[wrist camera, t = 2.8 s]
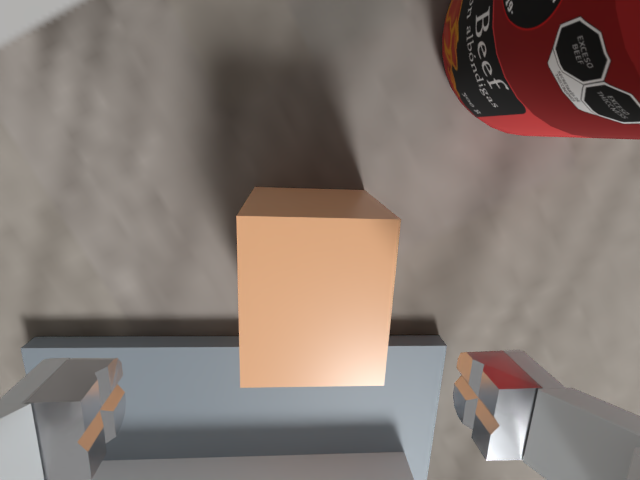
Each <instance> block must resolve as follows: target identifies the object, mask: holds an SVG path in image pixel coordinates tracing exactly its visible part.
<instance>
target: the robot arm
mask: <svg viewBox="0 0 640 480" xmlns="http://www.w3.org/2000/svg"><path fill="white" fill-rule="evenodd" d="M457 369H458V371H459V372H460V374H461V376H460V377H459V379H458V380H457V381H456V382H455V383H454V391H453V399H454V406H455V409H456V412H457V415H458V417H459V418H460V420H461V422H462V423H463V424H464V425H466V426H467V427H469V428H471V429H472V430H473V432H472V439H473V441H474V442H475V444H476V445H477V447H478V448H479V450H480V451H481V453H482V455H483V456H484V458H485V459H486V460H523V462H524V463H525V464H527V465H528V466H529V467H531V468H532V469H533V470H535V471H536V472H537V473H539V474H540V475H541V476H543V477H544V478H545V479H547V480H640V416H638V415H636V414H634V413H631V412H629V411H626V410H624V409H622V408H619V407H617V406H614V405H612V404H610V403H607V402H605V401H602V400H600V399H598V398H595V397H593V396H591V395H588V394H586V393H583V392H581V391H579V390H576V389H574V388H565V387H564V386H563V385H562V384H561V383H560V382H559V381H557V380H556V379H555V378H554V377H553V376H552V375H550V374H549V373H548V372H547V371H546V370H545V369H544V368H542V367H541V366H540V365H539V364H538V363H537V362H535V361H534V360H533V359H532V358H531V357H530V356H529V355H527V354H526V353H525V352H524V351H521V350H505V351H485V352H464V353H461V354H460V356H459V358H458V362H457ZM122 376H123V370H122V363H121V361H120V360H119V359H118V358H49V359H44V360H42V361H41V362H40V363H39V364H38V365H37V366H36V367H35V368H33V369H32V370H31V371H30V372H29V373H28V374H27V375H26V376H25V377H24V378H22V379H21V380H20V381H19V382H18V383H17V384H16V385H15V386H14V387H13V388H11V389H10V390H9V391H8V392H7V393H6V394H5V395H4V396H3V397H1V398H0V480H92V478H93V476H94V474H95V473H96V471H97V469H98V467H99V466H100V464H101V462H102V460H103V459H104V457H105V455H106V453H107V451H106V443H107V442H109V441H110V440H112V439H113V438H115V437H116V436H117V434H118V432H119V430H120V428H121V426H122V422H123V419H124V415H125V408H126V397H125V392H124V391H123V390H122V388H121V387H120V386H119V385H118V382H119V381H120V379H121V378H122Z"/></svg>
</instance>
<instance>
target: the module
mask: <svg viewBox="0 0 640 480" xmlns="http://www.w3.org/2000/svg"><path fill="white" fill-rule="evenodd" d="M236 221H237V266H238V311H239V357H240V388H261V387H328V386H384V382H385V372H386V362H387V352H388V342H389V332H390V322H391V312H392V302H393V292H394V282H395V272H396V263H397V253H398V243H399V233H400V223H401V219H400V218H398V217H397V216H396V215H395V214H393V213H392V212H391V211H390V210H388V209H387V208H386V207H385V206H384V205H382V204H381V203H380V202H379V201H377V200H376V199H375V198H374V197H372V196H371V195H370V194H369V193H368V192H366V191H365V190H346V189H310V188H275V187H254V189H253V190H252V192H251V194H250V195H249V197H248V198H247V200H246V201H245V203H244V205H243V206H242V208H241V209H240V211H239V213H238V214H237V216H236Z"/></svg>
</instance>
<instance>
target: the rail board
mask: <svg viewBox="0 0 640 480" xmlns="http://www.w3.org/2000/svg"><path fill="white" fill-rule="evenodd" d="M446 347H447V345H446V344H445V343H444V341H443V340H442V339H441V337H440V336H439V335H404V336H389V342H388V352H387V362H386V372H385V382H384V386H328V387H261V388H240V357H239V336H114V337H34V338H33V339H32V340H30V341H29V342H28V343H27V344H25V345H24V346H23V347H22V348H21V352H22V357H23V362H24V367H25V372H26V375H27V374H28V373H29V372H30V371H31V370H32V369H33V368H35V367H36V366H37V365H38V364H39V363H40V362H41V361H42V360H44V359H49V358H118V359H119V360H120V361H121V363H122V370H123V376H122V378H121V379H120V381H119V382H118V385H119V386H120V387H121V388H122V390H123V391H124V392H125V397H126V408H125V415H124V419H123V422H122V426H121V428H120V430H119V432H118V434H117V436H116V437H115V438H113V439H112V440H110V441H109V442H107V443H106V451H107V453H106V455H105V457H104V459H103V460H102V462H101V464H100V466H99V467H98V469H97V471H96V473H95V474H94V476H93V478H92V480H427V475H428V468H429V462H430V455H431V448H432V442H433V435H434V428H435V421H436V415H437V408H438V401H439V394H440V388H441V381H442V374H443V368H444V361H445V354H446Z"/></svg>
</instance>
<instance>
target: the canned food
mask: <svg viewBox="0 0 640 480" xmlns="http://www.w3.org/2000/svg"><path fill="white" fill-rule="evenodd" d="M442 56H443V61H444V67H445V72H446V75H447V78H448V80H449V83H450V85H451V88H452V90H453V91H454V93H455V94H456V96H457V97H458V99H459V101H460V102H461V103H462V104H463V105H464V106H465V107H466V108H467V109H468V110H469V111H470V112H471V113H472V114H473V115H474V116H475V117H477V118H478V119H480V120H481V121H483V122H484V123H486V124H487V125H489V126H490V127H492V128H495V129H498V130H500V131H503V132H505V133H509V134H516V135H523V136H549V137H580V138H612V139H640V0H451V3H450V6H449V9H448V12H447V15H446V18H445V24H444V30H443V35H442Z"/></svg>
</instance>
